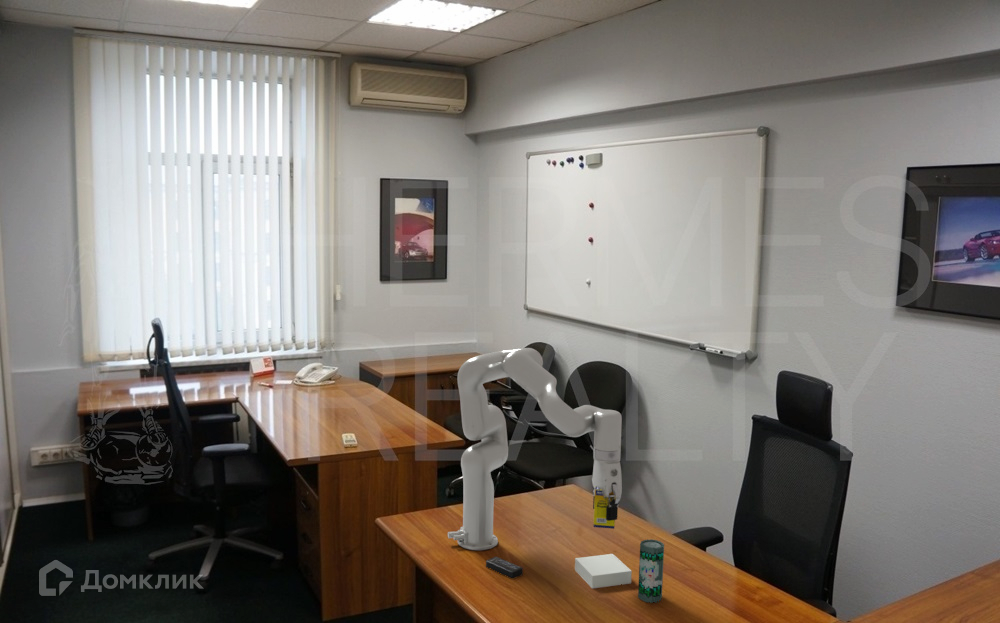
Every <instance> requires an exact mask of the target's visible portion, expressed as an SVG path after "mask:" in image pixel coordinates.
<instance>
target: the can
mask: <svg viewBox="0 0 1000 623" xmlns="http://www.w3.org/2000/svg"><path fill="white" fill-rule="evenodd" d="M664 558H665V543H664V542H662V541H661V540H657V539H648V538H646V539H643V540H641V541H640V545H639V562H638V563H639V566H638V567H639V568H638V588H637V589H638V591H637V598H638V599H640V600H641V601H642V602H644V603H649V602H650V603H651V604H653V602H655V603H660V602H661V601H662V599H661V598H663V580H664V579H663V578H664V561H665V560H664ZM659 600H660V601H659ZM657 601H658V602H657Z"/></svg>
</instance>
